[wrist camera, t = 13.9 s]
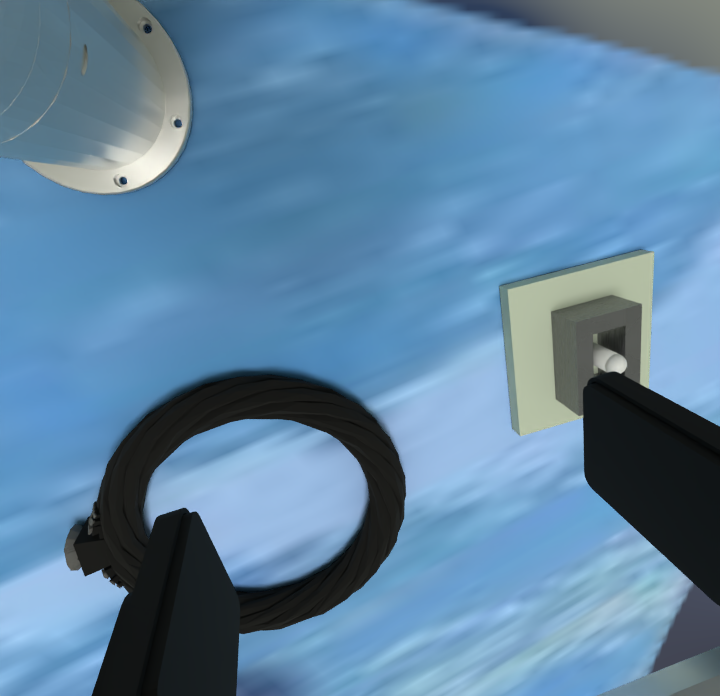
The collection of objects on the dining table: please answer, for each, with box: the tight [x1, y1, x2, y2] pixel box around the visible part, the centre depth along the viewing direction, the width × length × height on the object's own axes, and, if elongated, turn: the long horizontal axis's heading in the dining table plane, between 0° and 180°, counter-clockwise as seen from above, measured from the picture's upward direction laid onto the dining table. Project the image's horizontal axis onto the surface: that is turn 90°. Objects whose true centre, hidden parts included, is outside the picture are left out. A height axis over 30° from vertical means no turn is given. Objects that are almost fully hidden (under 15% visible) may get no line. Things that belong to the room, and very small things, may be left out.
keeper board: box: [499, 250, 654, 436], centre depth 39 cm, size 15×14×6 cm
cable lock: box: [64, 375, 406, 634], centre depth 40 cm, size 28×4×30 cm
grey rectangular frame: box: [551, 295, 642, 416], centre depth 39 cm, size 9×6×4 cm, turn 12°
